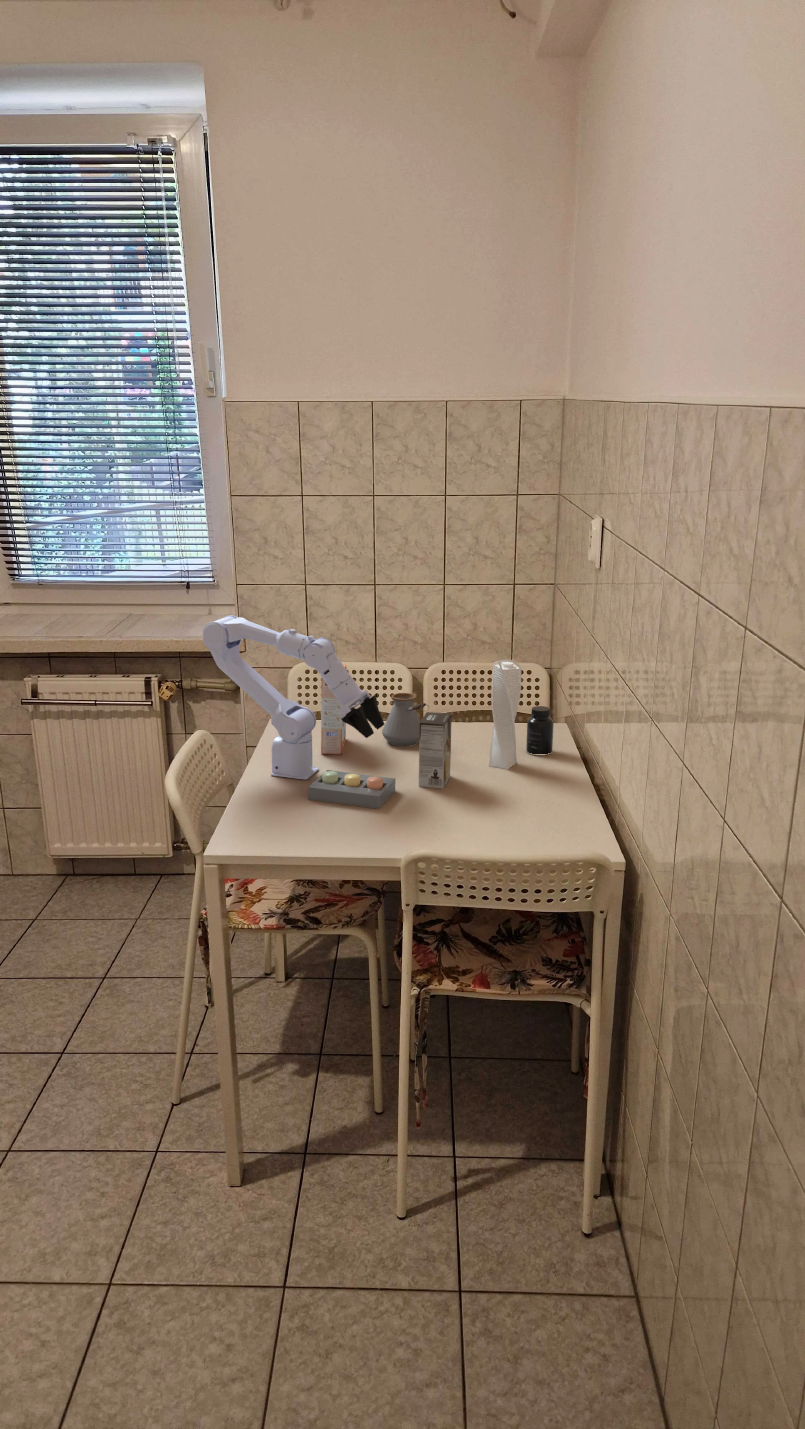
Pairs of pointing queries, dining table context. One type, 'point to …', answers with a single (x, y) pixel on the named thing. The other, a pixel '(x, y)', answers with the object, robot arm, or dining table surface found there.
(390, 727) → the coffee pot
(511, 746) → the skyscraper
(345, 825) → the dining table surface
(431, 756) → the coffee box
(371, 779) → the button terracotta
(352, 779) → the button ochre
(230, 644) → the robot arm
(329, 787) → the button panel
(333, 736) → the cracker box
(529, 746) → the supplement bottle
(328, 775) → the button sage
